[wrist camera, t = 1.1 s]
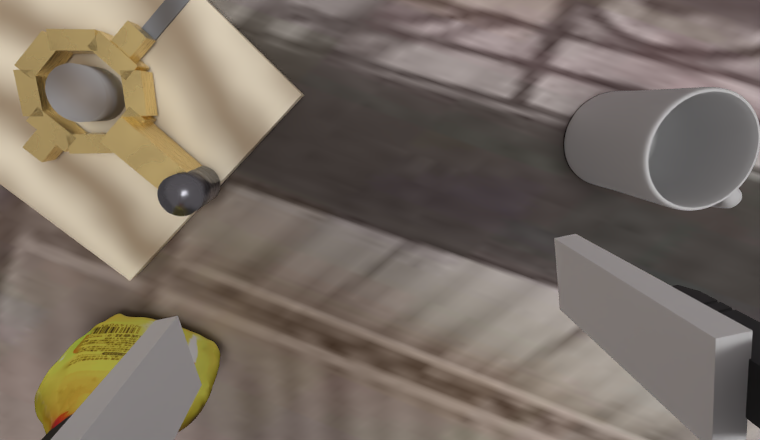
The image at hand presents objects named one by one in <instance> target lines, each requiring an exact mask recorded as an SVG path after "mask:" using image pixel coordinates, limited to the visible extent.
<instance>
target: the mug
mask: <svg viewBox="0 0 760 440" xmlns="http://www.w3.org/2000/svg"><path fill="white" fill-rule="evenodd" d="M759 148H760V125H759V121H758V118H757V116H756V113H755V111H754V110H753V108H752V106H751V105H750V104H749V103H748V101H747V100H745V99H744V98H743V97H742V96H740V95H739V94H737V93H735V92H733V91H730V90H728V89H723V88H716V87H699V88H680V89H661V90H641V91H613V92H607V93H603V94H600V95H598V96H596V97H594V98H592V99H590V100H588V101H587V102H586V103H584V104H583V105H582V106H581V107H580V108H579V109H578V110H577V111H576V113H575V114H574V116H573V117H572V119H571V121H570V122H569V125H568V127H567V130H566V134H565V139H564V150H565V156H566V159H567V162H568V164H569V166H570V168H571V169H572V170H573V172H574V173H575V174H576V175H577V176H578V177H580V178H581V179H582V180H584V181H586V182H588V183H591V184H594V185H597V186H600V187H604V188H608V189H611V190H615V191H618V192H621V193H625V194H628V195H631V196H634V197H637V198H641V199H644V200H647V201H650V202H654V203H657V204H660V205H663V206H666V207H670V208H673V209H678V210H689V211H691V210H700V209H704V208H708V207H711V206H713V207H718V208H731V207H734V206H735V205H737V204H738V203H739V202H740V201H741V199H742V193H741V191H740V190H739V187H740V186H741V185H742V184H743V182H744V181H745V180H746V178H747V177H748V175H749V174H750V172H751V170H752V168H753V166H754V164H755V162H756V159H757V156H758V152H759Z"/></svg>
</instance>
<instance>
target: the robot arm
mask: <svg viewBox="0 0 760 440" xmlns="http://www.w3.org/2000/svg"><path fill="white" fill-rule="evenodd" d="M554 240H555V253H556V266H557V279H558V292H559V305H560V310H561V311H562V312H564V313H565V314H566V315H567V316H568V317H569V318H570V319H571V320H572V321H573V322H574V323H575V324H576V325H577V326H579V327H580V328H581V329H582V330H583V331H584V332H585V333H586V334H587V335H588V336H589V337H590V338H591V339H592V340H594V341H595V342H596V343H597V344H598V345H599V346H600V347H601V348H602V349H603V350H604V351H605V352H606V353H607V354H609V355H610V356H611V357H612V358H613V359H614V360H615V361H616V362H617V363H618V364H619V365H620V366H621V367H623V368H624V369H625V370H626V371H627V372H628V373H629V374H630V375H631V376H632V377H633V378H634V379H635V380H636V381H638V382H639V383H640V384H641V385H642V386H643V387H644V388H645V389H646V390H647V391H648V392H649V393H650V394H651V395H653V396H654V397H655V398H656V399H657V400H658V401H659V402H660V403H661V404H662V405H663V406H664V407H665V408H666V409H668V410H669V411H670V412H671V413H672V414H673V415H674V416H675V417H676V418H677V419H678V420H679V421H680V422H682V423H683V424H684V425H685V426H686V427H687V428H688V429H689V430H690V431H691V432H692V433H693V434H694V435H695V436H697V437H698V438H699V439H700V440H746V433H747V419H748V420H749V421H751V422H752V423H753V424H755V425H756V426H757V427H759V428H760V322H758V321H756V320H754V319H752V318H750V317H748V316H747V315H745V314H743V313H741V312H739V311H737V310H732V308H731V307H729V306H727V305H725V304H723V303H721V302H719V303H718V302H717V300H716V299H714V298H712V297H710V296H708V295H706V294H704V293H702V292H700V291H697V290H693V289H690V288H686V287H683V286H679V285H675V286H670V285H668V284H666V283H665V282H663V281H661V280H659V279H657V278H655V277H654V276H652V275H650V274H648V273H646V272H644V271H643V270H641V269H639V268H637V267H635V266H633V265H632V264H630V263H628V262H626V261H624V260H622V259H621V258H619V257H617V256H615V255H613V254H611V253H610V252H608V251H606V250H604V249H602V248H600V247H599V246H597V245H595V244H593V243H591V242H590V241H588V240H586V239H584V238H582V237H580V236H579V235H577V234H573V235H568V236H563V237H558V238H554ZM201 385H202V384H201V381H200V378H199V375H198V373H197V370H196V367H195V364H194V361H193V358H192V355H191V352H190V350H189V347H188V344H187V341H186V338H185V335H184V332H183V329H182V327H181V324H180V321H179V318H178V316H174V317H169V318H165V319H160V320H155V321H154V322H153V323H152V324H151V326H150V327H149V328H148V329H147V330H146V331H145V332H144V334H143V335H142V336H141V337H140V338H139V339H138V340H137V342H136V343H135V344H134V345H133V346H132V347H131V348H130V350H129V351H128V352H127V353H126V354H125V355H124V356H123V358H122V359H121V360H120V361H119V362H118V363H117V364H116V366H115V367H114V368H113V369H112V370H111V371H110V372H109V374H108V375H107V376H106V377H105V378H104V379H103V380H102V381H101V383H100V384H99V385H98V386H97V387H96V388H95V389H94V391H93V392H92V393H91V394H90V395H89V396H88V397H87V399H86V400H85V401H84V402H83V403H82V404H81V405H80V407H79V408H78V409H77V410H76V411H75V412H74V413H73V414H72V415H70V416H68V417H67V418H66V419H64V420H63V421H62V422H60V423H59V424H58V425H57V426H55V427H54V428H53V429H51V430H50V431H49V432H48V433H47V434H46V435H45V437H44V438H43V439H42V440H174V439H175V437H176V435H177V433H178V431H179V429H180V427H181V425H182V423H183V421H184V419H185V417H186V415H187V413H188V411H189V409H190V407H191V405H192V403H193V401H194V399H195V397H196V395H197V393H198V391H199V389H200V387H201Z"/></svg>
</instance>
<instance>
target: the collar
mask: <svg viewBox="0 0 760 440" xmlns="http://www.w3.org/2000/svg"><path fill="white" fill-rule="evenodd" d="M155 42H156V41H155V40H154V39H153V38H152V37H151V36H150V35H149V34H148V33H146V32H145V31H144V30H143V29H142V28H141V27H140V26H139V25H138V24H135V23H133V22H130V21H128V20H127V21H126V23H125V24H124V25H123V26H122V27H121V29H120V30H119V31H118V32H117V34H116V35H115V36H112V35H109V34H108V33H104V32H101V31H98V30H95V29H46V32H44V31H41V32H40V33H39V35H38V36H37V37H36V38H35V40H34V41H33V42H32V43H31V45H30V46H29V47H28V48H27V50H26V51H25V52H24V53H23V55H22V56H21V57H20V58H19V60H18V61H17V62H16V63H15V66H16V67H17V68H18V69H19V70H13V72H14V76H15V81H16V86H17V91H18V95H19V100H20V105H21V109H22V114H23V116H29V118H28V119H27V120H26V121H27V122H28V123H29V124H30V125H32V126H33V127H34V128H35V129H37V130H36V131H35V132H34V134H33V135H32V136H31V137H30V138H29V140H28V141H27V142H26V143H25V144H24V146H23V148H24V149H25V150H26V151H28V152H29V153H30V154H32V155H33V156H34V157H35V158H37V159H38V160H39V161H41V162H46V161H51V160H56V158H57V157H58V156H59V155H60V154H61V153H62V151H64V152H67V151H69V154H84V153H114V154H116V155H117V156H118V157H119V158H120V159H122V160H123V161H124V162H125V163H126V164H128V165H129V166H130V167H131V168H133V169H134V170H135V171H136V172H137V173H139V174H140V175H141V176H142V177H143V178H145V179H146V180H147V181H148V182H150V183H151V184H152V185H153V186H154V187H156V188H157V189H158V191H157V196H158V200H159V203H160V205H161V206H162V207H163V209H164V210H166V211H167V212H168V213H170V214H172V215H175V216H188V215H190V214H192V213H194V212H195V211H197V210H198V209H199V208H201V207H202V206H204V205H205V204H206V203H208V202H209V201H211V200H212V199H213V198H215V197H216V196H217V195H218V193H219V191H220V186H221V185H220V179H219V177H218V175H217V174H216V172H215V171H213V170H212V169H211V168H209V167H206V166H202V165H201V164H200V163H199V162H198V161H197V160H195V159H194V158H193V157H192V156H191V155H190V154H188V153H187V152H186V151H185V150H184V149H183V148H182V147H180V146H179V145H178V144H177V143H176V142H175V141H173V140H172V139H171V138H170V137H169V136H168V135H166V134H165V133H164V132H163V131H162V130H161V129H160V128H158V127H157V126H156V125H155V124H154V122H155V121H156V120H157V119H156V118H154V117H153V116H158V112H157V105H156V97H155V90H154V82H153V75H152V72H147V71H148V70H149V69H150V68H149V67H148V66H147V65H146V64H145V63H143V62H142V61H141V60H140V59H141V58H142V57H143V56H144V55H145V53H146V52H147V51H148V50H149V49H150V47H151V46H152V45H153V44H154V43H155ZM73 54H96V55H97V56H98V57H100V58H101V59H102V60H103V61H104V62H105V63H106V64H108V65H109V66H110V67H111V68H112V69H113V70H114V71H115V72H117V73H118V74H119V75H120V76H121V80H122V87H123V94H124V100H125V107H126V111H125V112H124V113H123V115H122V116H121V117H120V118H119V119H118V120H117V122H116V123H115V124H114V125H113V126H112V127H111V129H110V130H109V131H108V132H107V133H87V132H86V131H84V130H83V129H82V128H81V127H80V126H78V125H77V124H76V123H75V122H73V121H71V120H68V119H66V118H64V117H62V116H61V115H59V114H58V113H57V112H56V111H55V110H54V109H53V108H52V106H51V105H50V103H49V101H48V99H47V96H46V92H45V84H46V79H47V77H48V75H49V73H50V72H51V71H52V70H53V69H54V68H55V67H57V66H59V65H62V64H65V63H66V62H67V61H68V60H69V59H70V57H71V56H72V55H73Z"/></svg>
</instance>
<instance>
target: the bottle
mask: <svg viewBox="0 0 760 440" xmlns="http://www.w3.org/2000/svg"><path fill="white" fill-rule="evenodd" d="M154 321H155V319H151V318H146V317H128V316H124V315H122V314H120V313H119V314H116V315H114V316H112V317H111V318H109V319H107V320H106V321H104V322H101V323H99V324H97V325H96V326H95V327H94V328H93V329H91V330H90V331H89V332H88V333H87V334H85V335H84V336H82V337H81V338H80V339H78V340H77V341H75V342H74V343H73V344H72V345H71V346H70V347H69V349H68V350H67V351H66V352H65V353H64V354H63V356H62V357H61V358H60V359H59V360H58V361H57V362H56V363H55V364H54V365H53V366H52V367H51V369H50V370H49V371H48V373H47V374H46V376H45V377H44V379H43V381H42V383H41V384H40V386H39V388H38V390H37V392H36V395H35V411H36V414H37V417H38V418H39V420H40V421H41V422H42V424H43V426H44V429H45V432H46V434H47V433H48V432H49V431H50V430H51V429H53V428H54V427H55V426H57V425H58V424H59V423H60V422H62V421H63V420H64V419H66V418H67V417H68V416H70V415H72V414H73V413H74V412H75V411H76V410H77V409H78V408H79V407H80V405H81V404H82V403H83V402H84V401H85V400H86V399H87V397H88V396H89V395H90V394H91V393H92V392H93V391H94V389H95V388H96V387H97V386H98V385H99V384H100V383H101V381H102V380H103V379H104V378H105V377H106V376H107V375H108V374H109V372H110V371H111V370H112V369H113V368H114V367H115V366H116V364H117V363H118V362H119V361H120V360H121V359H122V358H123V356H124V355H125V354H126V353H127V352H128V351H129V350H130V348H131V347H132V346H133V345H134V344H135V343H136V342H137V340H138V339H139V338H140V337H141V336H142V335H143V334H144V332H145V331H146V330H147V329H148V328H149V327H150V326H151V324H152V323H153V322H154ZM182 329H183V332H184V335H185V338H186V341H187V344H188V347H189V350H190V352H191V355H192V358H193V361H194V364H195V367H196V370H197V373H198V375H199V378H200V381H201V384H202V385H201V387H200V389H199V391H198V393H197V395H196V397H195V399H194V401H193V403H192V405H191V407H190V409H189V411H188V413H187V415H186V417H185V419H184V421H183V423H182V425H181V427H180V429H179V431H181V430H182V429H184V428H185V427H187V426H188V425H189V424H190V423H191V422H192V421H193V420H194V419H195V418H196V417H197V416H198V415H199V413H200V412H201V411H202V409H203V407H204V405H205V403H206V402H207V400H208V398H209V395H210V393H211V390H212V386H213V384H214V381H215V378H216V375H217V371H218V368H219V361H220V351H219V349H218V347H217V345H216V344H215V343H214V342H213V341H211V340H208V339H206V338H204V337H203V336H201V335H199V334H197V333H195V332H192V331H189V330H187V329H184V328H182ZM179 431H178V432H179Z"/></svg>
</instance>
